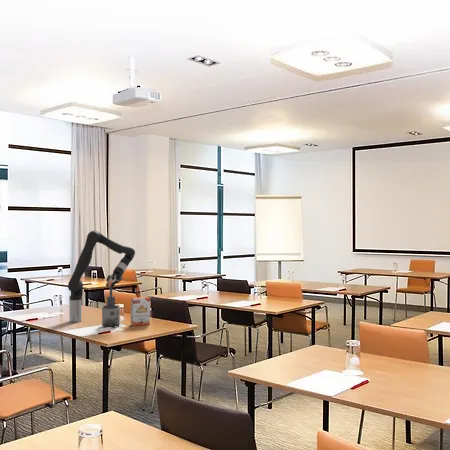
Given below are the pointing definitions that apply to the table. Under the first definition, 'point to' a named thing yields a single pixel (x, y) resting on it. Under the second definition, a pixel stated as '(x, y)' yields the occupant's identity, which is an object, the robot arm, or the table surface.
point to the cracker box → (140, 311)
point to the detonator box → (110, 313)
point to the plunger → (110, 288)
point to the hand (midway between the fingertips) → (109, 286)
